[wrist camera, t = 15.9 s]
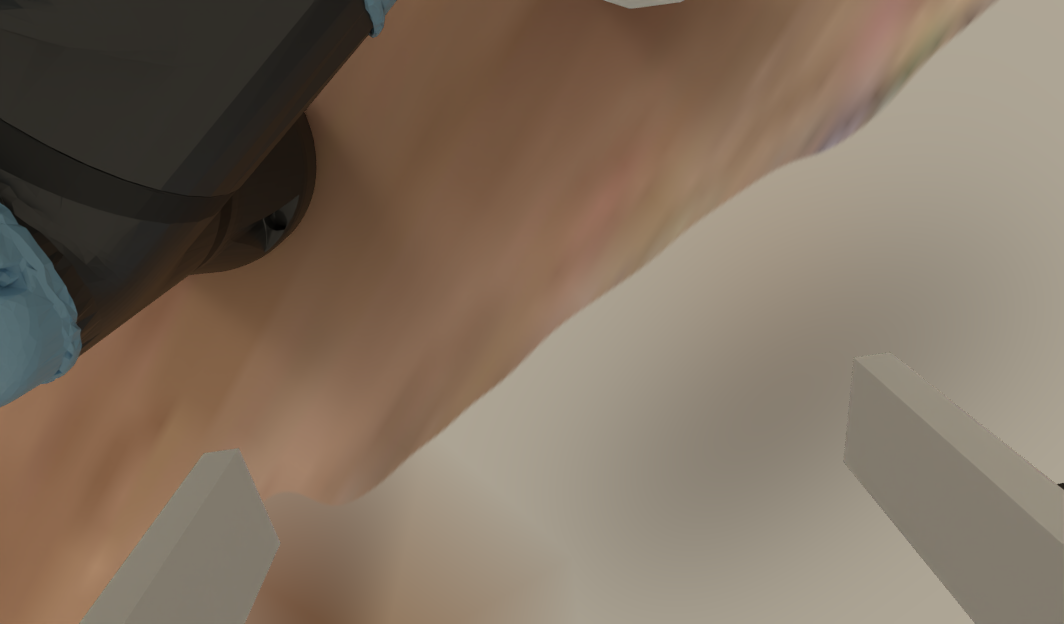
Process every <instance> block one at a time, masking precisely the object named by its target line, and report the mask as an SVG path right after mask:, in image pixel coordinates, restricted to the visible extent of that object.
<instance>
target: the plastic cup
mask: <svg viewBox="0 0 1064 624" xmlns="http://www.w3.org/2000/svg"><path fill="white" fill-rule="evenodd" d="M605 1H608V2H611V3H614V4H617V5H620V6H623V7H626V8H629V9H632V8H640V7H647V6H655V5H662V4H670V3H678V2H682V1H684V0H605Z"/></svg>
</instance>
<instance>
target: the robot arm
mask: <svg viewBox="0 0 1064 624" xmlns="http://www.w3.org/2000/svg"><path fill="white" fill-rule="evenodd" d="M396 1H397V0H0V407H2V406H4V405H6V404H8V403H10V402H12V401H14V400H15V399H17V398H19V397H20V396H22V395H24V394H25V393H27V392H28V391H30V390H32V389H33V388H35V387H37V386H38V385H40V384H46V383H49V382H52V381H54V380H55V379H56V378H59V377H61V376H63V375H64V374H65V373H66V372H68V371H69V370H70V369H71V368H72V367H73V366H74V364H75V363H76V361H77V358H78V357H79V356H80V355H82V354H83V353H84V352H86V351H87V350H88V349H90V348H91V347H93V346H94V345H95V344H97V343H98V342H99V341H101V340H102V339H103V338H105V337H106V336H107V335H109V334H110V333H111V332H113V331H114V330H115V329H117V328H118V327H120V326H121V325H122V324H124V323H125V322H126V321H128V320H129V319H130V318H132V317H133V316H134V315H136V314H137V313H138V312H140V311H141V310H142V309H144V308H145V307H147V306H148V305H149V304H151V303H152V302H153V301H155V300H156V299H157V298H159V297H160V296H161V295H163V294H164V293H165V292H167V291H168V290H169V289H171V288H172V287H174V286H175V285H176V284H178V283H179V282H180V281H182V280H183V279H184V278H186V277H187V276H188V275H194V274H204V273H213V272H221V271H227V270H231V269H235V268H238V267H241V266H244V265H247V264H249V263H251V262H253V261H255V260H257V259H259V258H261V257H263V256H264V255H266V254H267V253H269V252H270V251H271V250H273V249H274V248H275V247H276V246H277V245H279V244H280V243H281V242H282V241H283V240H284V239H285V238H286V237H287V236H289V235H290V234H291V232H292V231H293V230H294V229H295V228H296V227H297V225H298V224H299V222H300V221H301V219H302V218H303V216H304V214H305V212H306V210H307V208H308V206H309V203H310V201H311V198H312V194H313V190H314V185H315V178H316V155H315V147H314V141H313V137H312V133H311V130H310V126H309V123H308V121H307V118H306V116H305V113H304V111H305V110H306V109H307V107H308V106H309V105H310V104H311V103H312V101H313V100H314V99H315V98H316V97H317V95H318V94H319V93H320V92H321V91H322V89H323V88H324V87H325V86H326V85H327V84H328V82H329V81H330V80H331V79H332V78H333V76H334V75H335V74H336V73H337V72H338V70H339V69H340V68H341V67H342V66H343V64H344V63H345V62H346V61H347V60H348V59H349V57H350V56H351V55H352V54H353V53H354V51H355V50H356V49H357V48H358V47H359V45H360V44H361V43H362V42H363V41H364V39H365V38H366V37H367V36H368V35H369V36H371V37H372V38H374V37H377V36H378V34H379V33H380V32H381V31H382V29H383V26H384V21H385V15H386V14H387V12H388V11H389V10H390V8H391V7H392V6H393V5H394V3H395V2H396ZM844 463H845V464H846V465H847V467H848V468H849V469H850V471H851V472H852V473H853V474H854V475H855V477H856V478H857V479H858V480H859V481H860V483H861V484H862V485H863V486H864V488H865V489H866V490H867V491H868V493H869V494H870V495H871V496H872V498H873V499H874V500H875V501H876V502H877V503H878V505H879V506H880V507H881V508H882V510H883V511H884V512H885V513H886V514H887V516H888V517H889V518H890V520H891V521H892V522H893V523H894V525H895V526H896V527H897V528H898V529H899V531H900V532H901V533H902V534H903V535H904V537H905V538H906V539H907V540H908V542H909V543H910V544H911V545H912V547H913V548H914V549H915V550H916V552H917V553H918V554H919V555H920V556H921V558H922V559H923V560H924V561H925V563H926V564H927V565H928V566H929V567H930V569H931V570H932V571H933V572H934V574H935V575H936V576H937V577H938V578H939V580H940V581H941V582H942V583H943V585H944V586H945V587H946V588H947V589H948V590H949V592H950V593H951V594H952V596H953V597H954V598H955V599H956V600H957V602H958V603H959V604H960V605H961V607H962V608H963V609H964V610H965V612H966V613H967V614H968V615H969V617H970V618H971V619H972V620H973V621H974V623H975V624H1064V483H1061V484H1056V483H1055V482H1053V481H1052V480H1051V479H1049V478H1048V477H1047V476H1046V475H1044V474H1043V473H1042V472H1041V471H1039V470H1038V469H1037V468H1036V467H1034V466H1033V465H1032V464H1031V463H1029V462H1028V461H1027V460H1026V459H1024V458H1023V457H1022V456H1021V455H1019V454H1018V453H1017V452H1015V451H1014V450H1013V449H1012V448H1010V447H1009V446H1008V445H1007V444H1005V443H1004V442H1003V441H1001V440H1000V439H999V438H998V437H997V436H995V435H994V434H993V433H992V432H990V431H989V430H988V429H987V428H985V427H984V426H982V424H980V423H979V422H977V421H976V420H975V419H974V418H973V417H971V416H970V415H969V414H968V413H966V412H965V411H964V410H963V409H961V408H960V407H959V406H958V405H956V404H955V403H954V402H952V401H951V400H950V399H949V398H947V397H946V396H945V395H944V394H942V393H941V392H940V391H939V390H937V389H936V388H935V387H934V386H932V385H931V384H930V383H929V382H927V381H926V380H925V379H924V378H922V377H921V376H920V375H919V374H917V373H916V372H915V371H914V370H912V369H911V368H910V367H908V366H907V365H906V364H905V363H904V362H902V361H901V360H900V359H899V358H897V357H896V356H895V355H893V354H892V353H891V352H889V353H881V354H875V355H868V356H861V357H854V361H853V371H852V381H851V391H850V401H849V412H848V422H847V432H846V442H845V452H844ZM279 545H280V541H279V539H278V536H277V534H276V532H275V529H274V527H273V525H272V523H271V521H270V518H269V516H268V514H267V511H266V510H265V507H264V504H263V502H262V500H261V498H260V495H259V493H258V491H257V489H256V486H255V484H254V482H253V479H252V477H251V475H250V473H249V470H248V468H247V466H246V463H245V461H244V459H243V457H242V454H241V452H240V450H239V448H237V449H230V450H224V451H217V452H210V453H204V454H203V455H202V456H201V458H200V459H199V461H198V462H197V463H196V465H195V466H194V467H193V469H192V470H191V471H190V473H189V474H188V476H187V477H186V478H185V480H184V481H183V482H182V484H181V485H180V487H179V488H178V489H177V491H176V492H175V493H174V495H173V496H172V497H171V499H170V500H169V502H168V503H167V504H166V506H165V507H164V508H163V510H162V511H161V512H160V514H159V515H158V517H157V518H156V519H155V521H154V522H153V523H152V525H151V526H150V527H149V529H148V530H147V532H146V533H145V534H144V536H143V537H142V538H141V540H140V541H139V542H138V544H137V545H136V547H135V548H134V549H133V551H132V552H131V553H130V555H129V556H128V558H127V559H126V560H125V562H124V563H123V564H122V566H121V567H120V568H119V570H118V571H117V573H116V574H115V575H114V577H113V578H112V579H111V581H110V582H109V583H108V585H107V586H106V588H105V589H104V590H103V592H102V593H101V594H100V596H99V597H98V598H97V600H96V601H95V603H94V604H93V605H92V607H91V608H90V609H89V611H88V612H87V614H86V615H85V616H84V618H83V619H82V620H81V622H80V623H79V624H245V621H246V619H247V617H248V615H249V612H250V610H251V608H252V606H253V603H254V601H255V599H256V597H257V594H258V592H259V590H260V588H261V586H262V583H263V581H264V579H265V577H266V574H267V572H268V570H269V568H270V565H271V563H272V561H273V559H274V556H275V554H276V552H277V549H278V547H279Z"/></svg>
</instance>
